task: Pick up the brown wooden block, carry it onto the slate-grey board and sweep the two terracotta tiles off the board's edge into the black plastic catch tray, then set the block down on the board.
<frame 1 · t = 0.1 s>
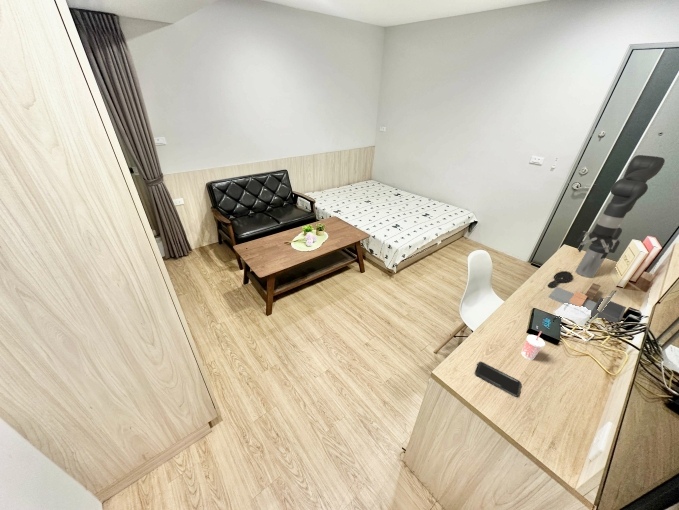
hand: (590, 254, 128), 29 cm above the table, fingers open, 8 cm apart
board: (571, 301, 142), on the table
phone: (496, 379, 100), on the table
tile 1: (579, 298, 141), point 2 cm above the table, touching board
tile 2: (576, 302, 138), point 2 cm above the table, touching board
phone case: (570, 329, 124), on the table
catch tray: (604, 315, 132), on the table
hairbrush: (557, 282, 159), on the table
brown wooden block: (588, 297, 146), on the table
beverage cup: (527, 355, 110), on the table
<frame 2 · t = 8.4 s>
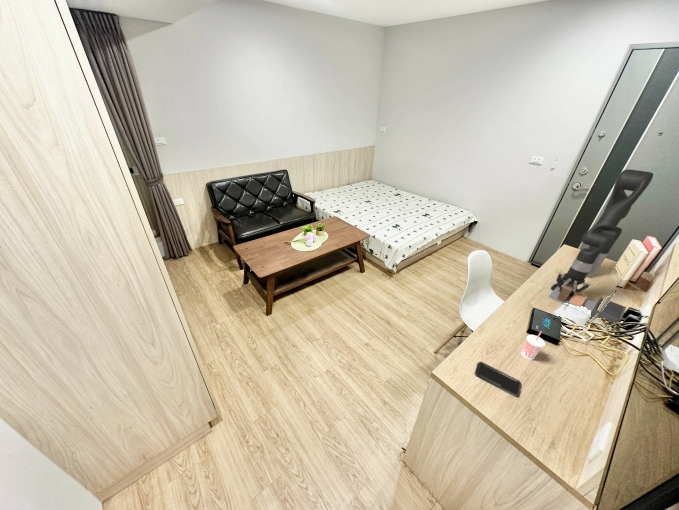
hand: (565, 294, 143), 3 cm above the table, fingers closed on brown wooden block, 3 cm apart
tile 1: (579, 298, 141), point 2 cm above the table, touching gripper
tile 2: (576, 302, 138), point 2 cm above the table, touching board, gripper
hairbrush: (560, 284, 157), on the table
brown wooden block: (564, 294, 143), point 2 cm above the table, touching gripper
everything else where it was.
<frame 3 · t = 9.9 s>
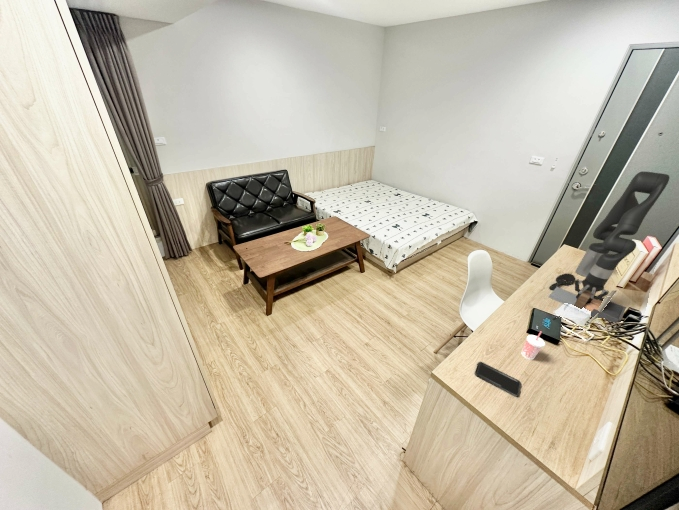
hand: (582, 300, 138), 3 cm above the table, fingers closed on brown wooden block, 3 cm apart
tile 1: (594, 304, 137), point 2 cm above the table, touching board
tile 2: (591, 309, 133), point 2 cm above the table, tilted 6°, touching board, gripper
brown wooden block: (581, 302, 138), point 2 cm above the table, touching gripper
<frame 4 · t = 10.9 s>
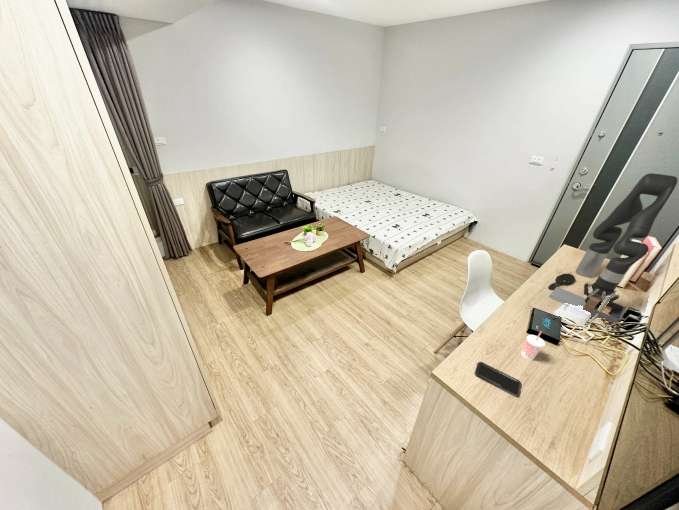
hand: (591, 304, 135), 3 cm above the table, fingers closed on brown wooden block, 3 cm apart
tile 1: (602, 309, 135), point 1 cm above the table, tilted 15°, touching catch tray
tile 2: (599, 314, 131), point 1 cm above the table, tilted 16°, touching catch tray, gripper
brown wooden block: (590, 306, 136), point 2 cm above the table, touching board, catch tray, gripper
when the fingers open (4 cm above the table, at t = 13.7 s): brown wooden block drops 1 cm, resting on board.
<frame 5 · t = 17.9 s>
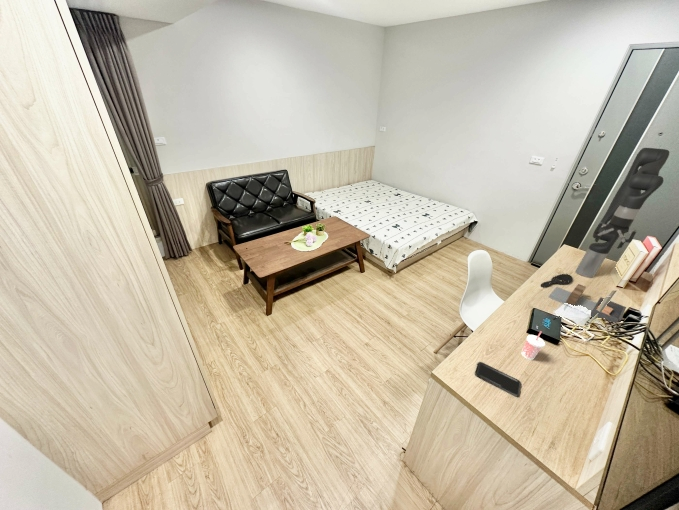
hand: (606, 244, 136), 30 cm above the table, fingers open, 8 cm apart
tile 1: (603, 310, 135), point 1 cm above the table, touching catch tray
tile 2: (599, 314, 131), point 1 cm above the table, tilted 16°, touching catch tray
hairbrush: (554, 283, 158), on the table
brown wooden block: (573, 298, 141), point 2 cm above the table, touching board
everything else where it was.
at the end: tile 1 inside the target area on the catch tray (3.7 cm from its centre), point 0.6 cm above the catch tray's base; tile 2 inside the target area on the catch tray (4.5 cm from its centre), point 1.3 cm above the catch tray's base; the gripper is holding nothing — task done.
